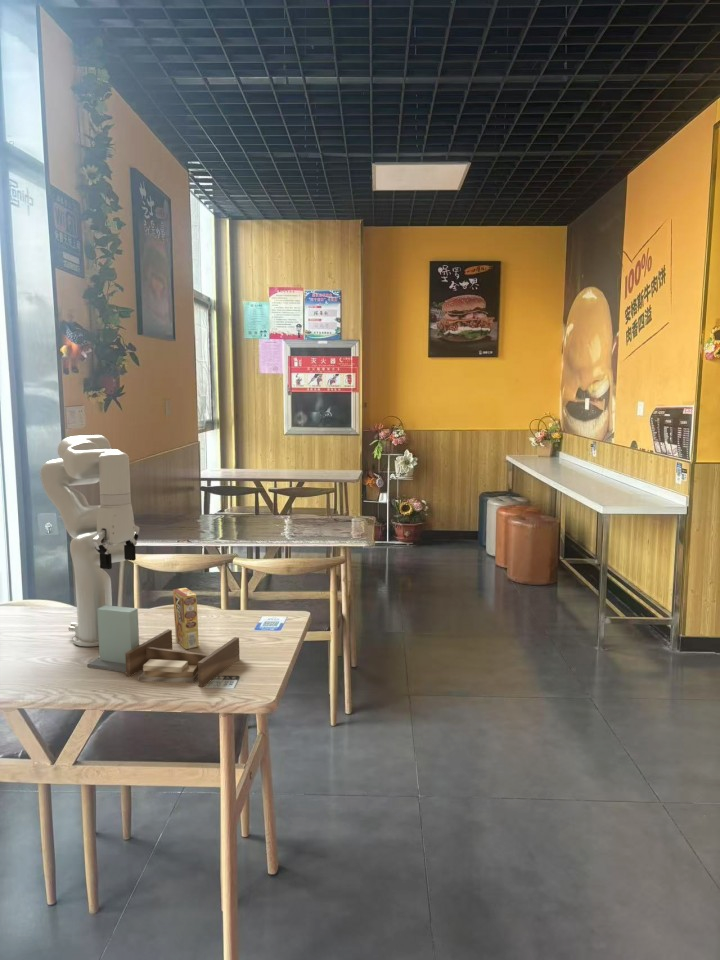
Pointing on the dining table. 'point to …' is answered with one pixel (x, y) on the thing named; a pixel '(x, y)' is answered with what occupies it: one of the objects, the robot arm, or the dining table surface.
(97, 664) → the rubber mat
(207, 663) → the rack
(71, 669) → the dining table surface
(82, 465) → the robot arm
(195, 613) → the candy box
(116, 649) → the pale mint block
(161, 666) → the offcut stack
